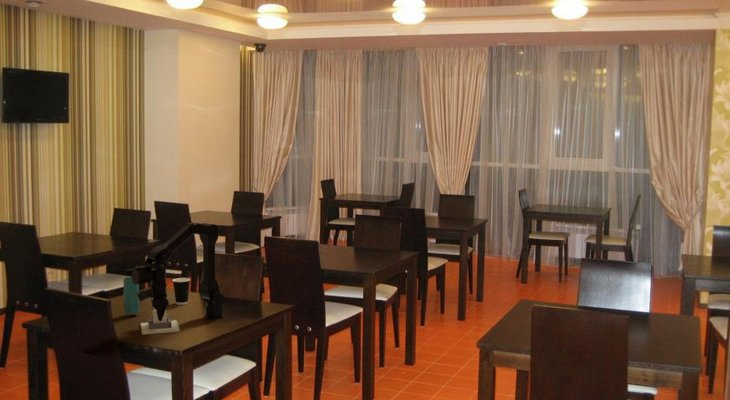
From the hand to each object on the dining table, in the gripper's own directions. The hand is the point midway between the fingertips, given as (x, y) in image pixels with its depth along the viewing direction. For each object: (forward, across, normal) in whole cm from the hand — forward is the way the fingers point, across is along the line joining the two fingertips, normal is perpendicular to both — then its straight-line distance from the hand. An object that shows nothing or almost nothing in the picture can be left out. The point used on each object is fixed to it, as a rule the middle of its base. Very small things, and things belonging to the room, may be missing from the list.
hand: (159, 319), depth 299 cm
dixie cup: (+4, -41, +12) cm, 43 cm away
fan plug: (+1, 0, 0) cm, 1 cm away
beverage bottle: (+4, -25, -10) cm, 27 cm away
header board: (+4, 0, 0) cm, 4 cm away
